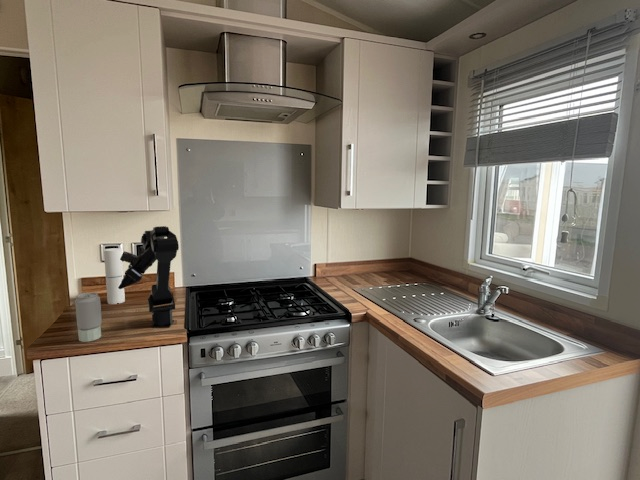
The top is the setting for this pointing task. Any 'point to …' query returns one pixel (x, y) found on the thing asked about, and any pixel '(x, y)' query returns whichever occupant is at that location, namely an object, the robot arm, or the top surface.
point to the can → (88, 311)
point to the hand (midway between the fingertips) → (120, 285)
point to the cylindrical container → (114, 275)
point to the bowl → (89, 334)
